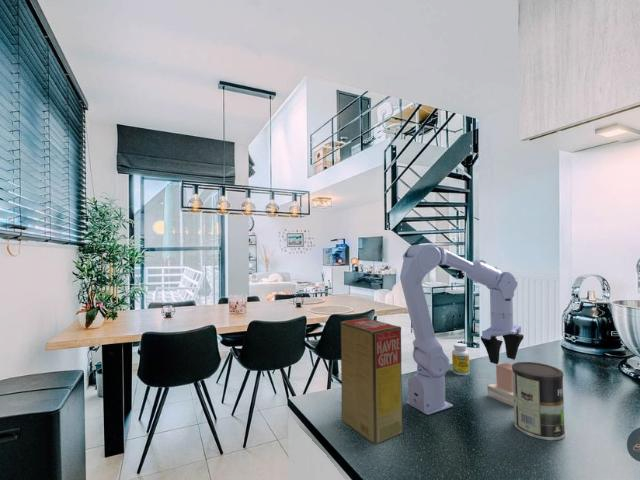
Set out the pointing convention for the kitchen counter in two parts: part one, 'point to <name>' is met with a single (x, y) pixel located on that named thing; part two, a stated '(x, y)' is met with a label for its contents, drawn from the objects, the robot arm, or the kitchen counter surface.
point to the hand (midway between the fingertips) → (502, 360)
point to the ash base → (500, 394)
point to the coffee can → (538, 400)
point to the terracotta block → (505, 376)
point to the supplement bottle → (460, 359)
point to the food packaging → (371, 378)
